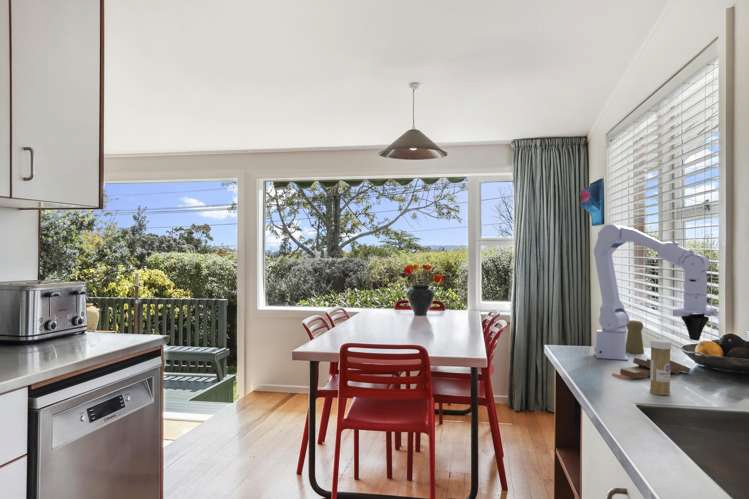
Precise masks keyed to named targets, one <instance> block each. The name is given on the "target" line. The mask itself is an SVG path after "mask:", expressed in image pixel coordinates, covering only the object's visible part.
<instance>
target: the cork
mask: <svg viewBox="0 0 749 499" xmlns="http://www.w3.org/2000/svg"><path fill="white" fill-rule="evenodd" d="M643 329H644V324H643V322H642V321H639V320H635V319H634V320H632V319H631V320H629V323H628V325H627V326H626V330H627V333H626V353H628V354H633V355H642V354H645V349H644V343H643V342H644V341H643V335H642V330H643Z"/></svg>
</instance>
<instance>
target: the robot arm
mask: <svg viewBox="0 0 749 499" xmlns="http://www.w3.org/2000/svg"><path fill="white" fill-rule="evenodd" d="M629 242H631V243H633V242H634V243H635V244H638V245H641V246H642V247H645V248H648V249H650V250H653V251H654V252H657V254H658V256H659V258H660V259H662V260H664V261H666V262H668V263H670V264H673V265H675V266H677V267H678V268H682V270H683V271H684V282H683V283H684V284H683V286H684V287H683V288H684V289H683V291H684V292H683V307H682V308H675V309H672V317H681V319H682V321H683V323H684V324H685V327H686V330H687V333H688V337H689V340H691V341H700V339H701V336H702V333H703V330H704V328H705V326H706V324H707V323H708V322H709V320H710V317H709V316H718V309H717V308H713V307H707V306H708V305H707V304H708V303H707V300H708V298H707V297H708V277H707V276H708V274H707V273H708V272H707V271H708V269H709V268H710V265H711V264H710V263H711V262H710V260H709V258H708V257H707V256H705V255H704V254H703V253H695V250H694V249H688V248H686V247H683V246H681V245H680V243H679V242H677V241H673V242H672V241H667V242H662V241H660V240H658V239H656V238H655V237H652V236H650V235H648V234H646V233H644V232H642V231H639V230H638V229H636V228H632V227H628V226H626V225H622V224H619V225H618V224H612V223H611V224H610V223H608V224H606V225H604V226H603V227H601V229H599V231H598V232H597V239H596V243H595V246H594V248H593V253H594V254H593V255H594V260H595V266H596V272H597V277H598V283H599V291H600V295H601V301H602V303H601V305H600V307H599V312H600V314H599V317H598V322H599V325H600V327H601V329H595V332H594V350H593V351H594V354H595V357H596V358H598V359H606V360H619V361H628V360H629V357H628V356H627V354H626V353H627V352H626V341H627V325H628V323H629V321H630V317H629V314H628V312H626V310H625V306H624V304H623V303H622V301H621V299H620V295H619V294H620V293H619V289H618V283H617V277H616V271H615V265H614V260H613V259H614V258H613V254H614V252H615V251H616V250H617V249H618V248H619V247H621V246H623V245H624V244H625V243H629Z"/></svg>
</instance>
